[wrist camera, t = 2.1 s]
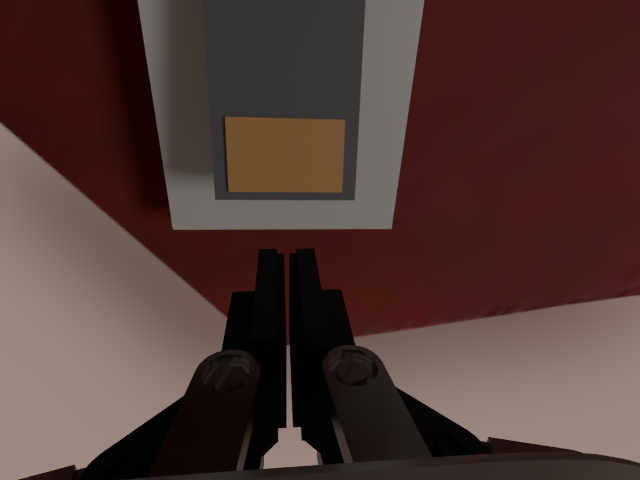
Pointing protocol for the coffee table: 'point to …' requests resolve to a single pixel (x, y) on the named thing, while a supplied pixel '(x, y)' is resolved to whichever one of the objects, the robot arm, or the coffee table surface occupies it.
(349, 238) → the coffee table surface
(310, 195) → the rocker switch
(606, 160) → the coffee table surface
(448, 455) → the robot arm
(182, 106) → the switch box
